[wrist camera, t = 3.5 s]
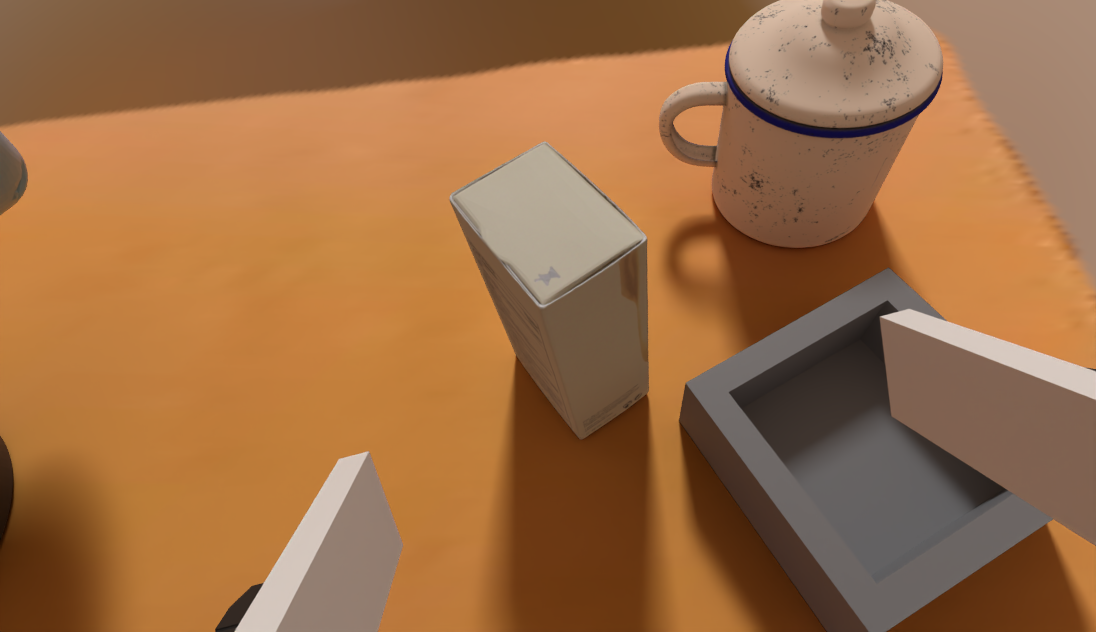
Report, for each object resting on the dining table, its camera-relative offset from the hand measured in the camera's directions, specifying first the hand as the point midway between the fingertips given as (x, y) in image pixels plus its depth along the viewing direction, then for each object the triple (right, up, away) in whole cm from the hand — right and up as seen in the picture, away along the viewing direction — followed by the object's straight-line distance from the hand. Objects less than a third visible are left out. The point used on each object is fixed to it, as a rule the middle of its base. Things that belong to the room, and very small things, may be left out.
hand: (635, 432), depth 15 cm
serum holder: (+11, -3, +11) cm, 16 cm away
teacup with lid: (+10, +10, +19) cm, 24 cm away
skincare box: (-1, 0, +15) cm, 15 cm away
